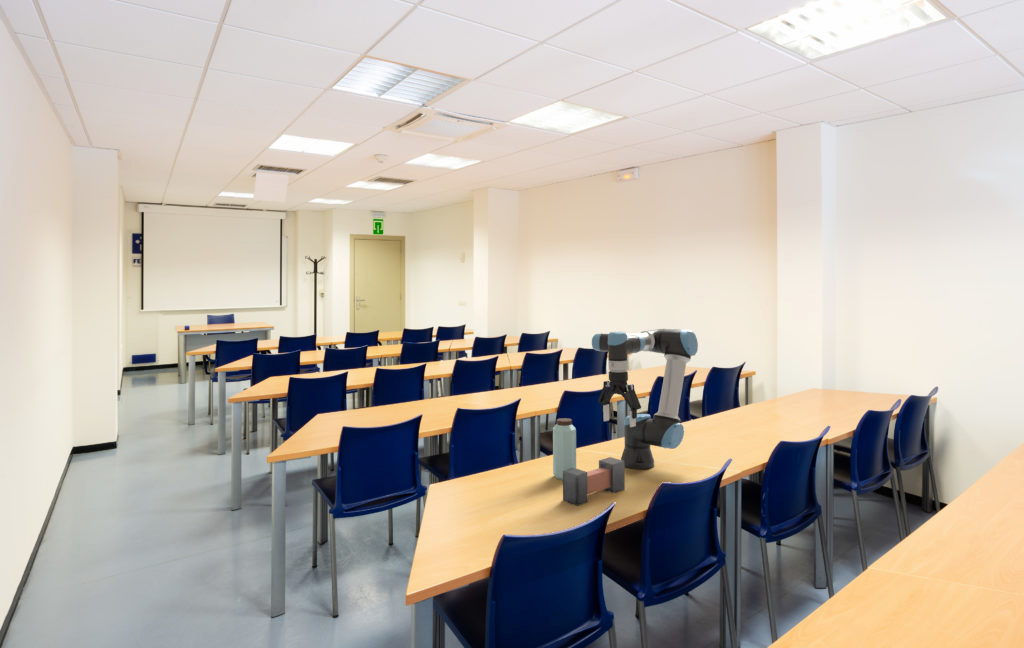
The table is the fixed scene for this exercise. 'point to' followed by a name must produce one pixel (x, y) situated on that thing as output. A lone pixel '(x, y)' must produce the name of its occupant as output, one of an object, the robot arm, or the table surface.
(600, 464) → the sleeve
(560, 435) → the water bottle
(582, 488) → the socket
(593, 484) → the pink rectangular block
